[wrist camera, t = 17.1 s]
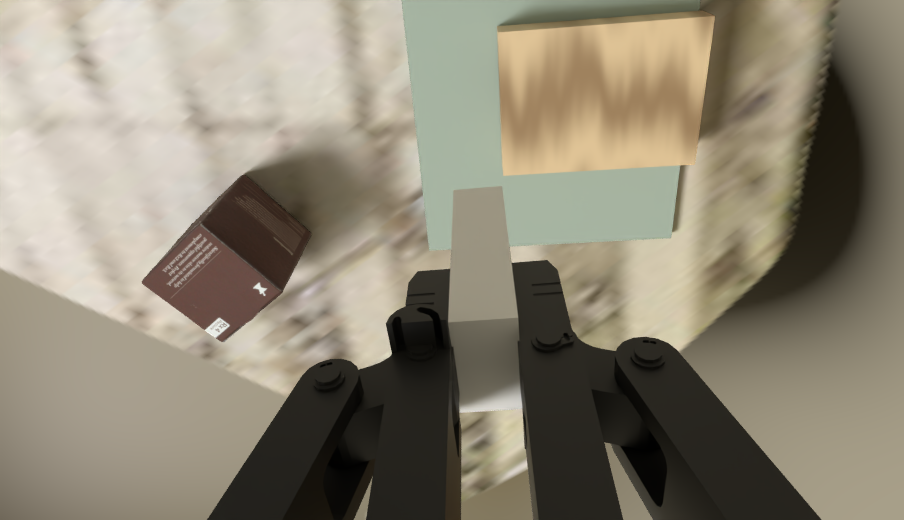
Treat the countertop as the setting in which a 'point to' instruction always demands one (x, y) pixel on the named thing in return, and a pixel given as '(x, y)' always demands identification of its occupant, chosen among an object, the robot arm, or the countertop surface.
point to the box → (230, 260)
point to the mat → (479, 129)
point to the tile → (602, 92)
